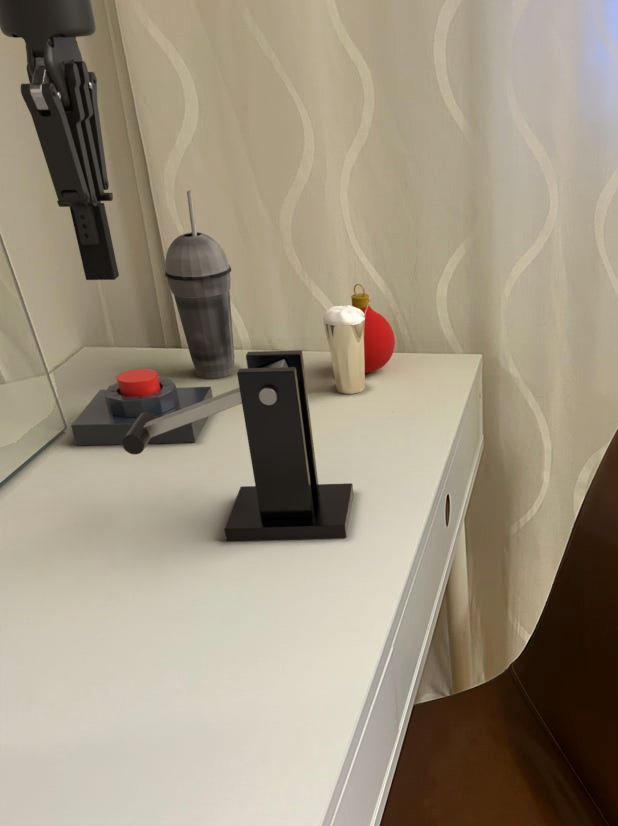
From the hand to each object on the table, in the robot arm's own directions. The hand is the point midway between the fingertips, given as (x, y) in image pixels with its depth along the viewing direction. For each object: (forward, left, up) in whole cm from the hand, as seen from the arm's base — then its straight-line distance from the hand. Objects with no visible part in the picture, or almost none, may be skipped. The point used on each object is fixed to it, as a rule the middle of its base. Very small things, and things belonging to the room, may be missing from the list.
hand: (102, 277), depth 93 cm
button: (+1, +1, -12) cm, 12 cm away
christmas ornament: (+23, +16, -15) cm, 32 cm away
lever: (+14, -21, -6) cm, 26 cm away
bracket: (+19, -21, -15) cm, 32 cm away
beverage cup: (+5, +17, -15) cm, 23 cm away
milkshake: (+22, +10, -15) cm, 28 cm away
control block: (+1, +1, -15) cm, 15 cm away
